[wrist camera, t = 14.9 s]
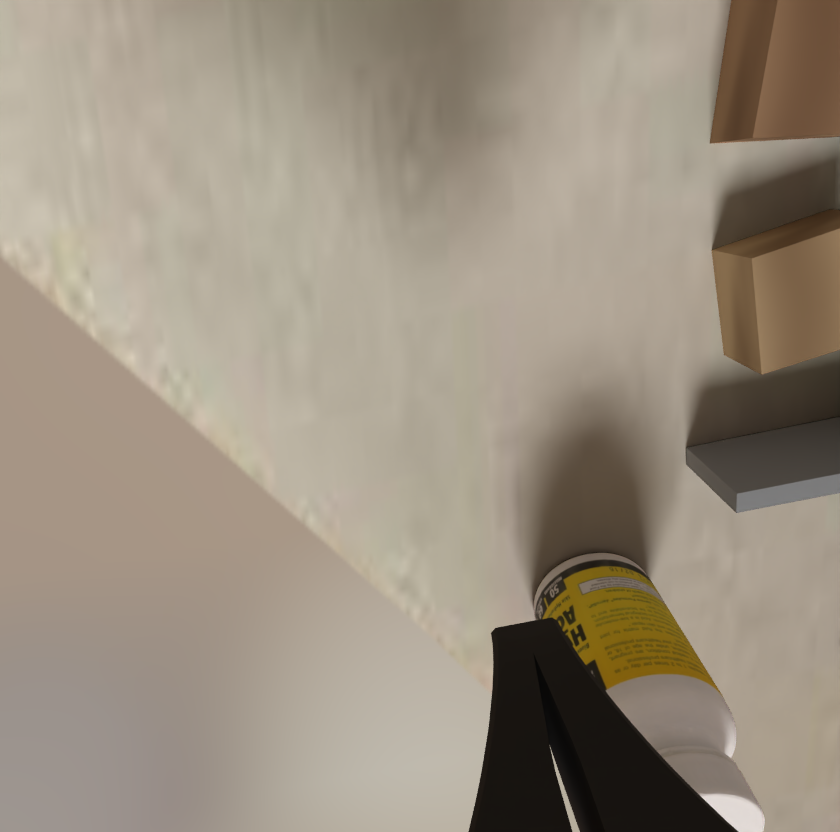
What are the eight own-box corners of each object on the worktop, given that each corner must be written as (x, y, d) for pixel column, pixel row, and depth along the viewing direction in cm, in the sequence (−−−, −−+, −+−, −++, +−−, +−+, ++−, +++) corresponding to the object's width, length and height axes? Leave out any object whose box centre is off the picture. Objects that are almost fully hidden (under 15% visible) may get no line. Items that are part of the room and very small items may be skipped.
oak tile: (825, 209, 18) (885, 212, 16) (828, 317, 20) (884, 335, 17) (708, 249, 19) (751, 258, 16) (720, 352, 20) (761, 374, 18)
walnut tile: (863, -15, 16) (941, -49, 13) (827, 137, 17) (892, 130, 15) (728, -8, 16) (784, -41, 13) (706, 143, 17) (752, 138, 15)
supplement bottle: (536, 548, 23) (624, 777, 14) (658, 547, 23) (820, 773, 14) (524, 641, 25) (593, 892, 16) (636, 639, 26) (765, 886, 17)
